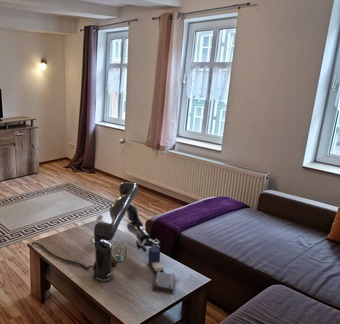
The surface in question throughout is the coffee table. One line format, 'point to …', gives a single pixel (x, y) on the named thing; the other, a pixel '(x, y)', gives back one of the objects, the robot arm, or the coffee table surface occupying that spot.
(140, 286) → the coffee table surface
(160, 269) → the blue rectangular block
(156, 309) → the coffee table surface
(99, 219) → the female figurine
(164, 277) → the wooden base with rails
